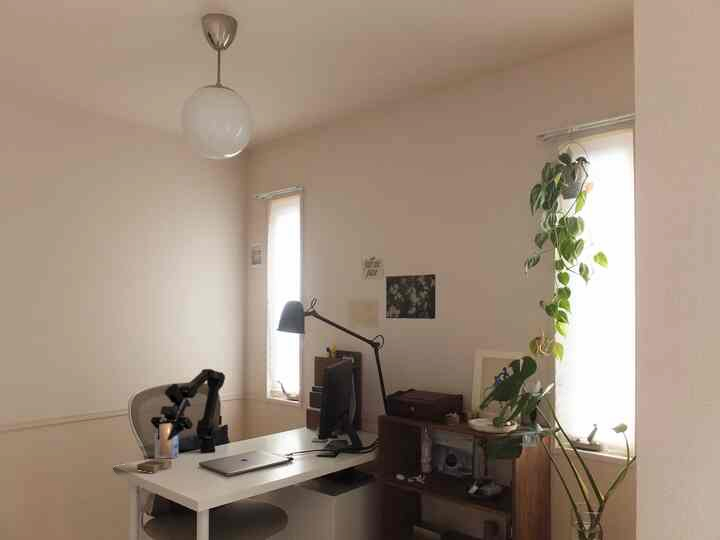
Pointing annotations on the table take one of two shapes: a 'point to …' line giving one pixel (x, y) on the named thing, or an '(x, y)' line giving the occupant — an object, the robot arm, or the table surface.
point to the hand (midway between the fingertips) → (163, 439)
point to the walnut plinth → (154, 465)
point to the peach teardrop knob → (165, 439)
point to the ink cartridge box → (174, 447)
